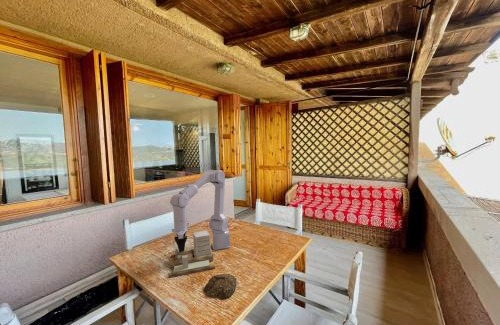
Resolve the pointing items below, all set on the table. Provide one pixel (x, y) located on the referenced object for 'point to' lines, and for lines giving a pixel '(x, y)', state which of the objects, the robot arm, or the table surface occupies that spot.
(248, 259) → the table surface
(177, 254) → the wooden tray
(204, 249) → the supplement box
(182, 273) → the lane frame
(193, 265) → the strip
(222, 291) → the bread roll
